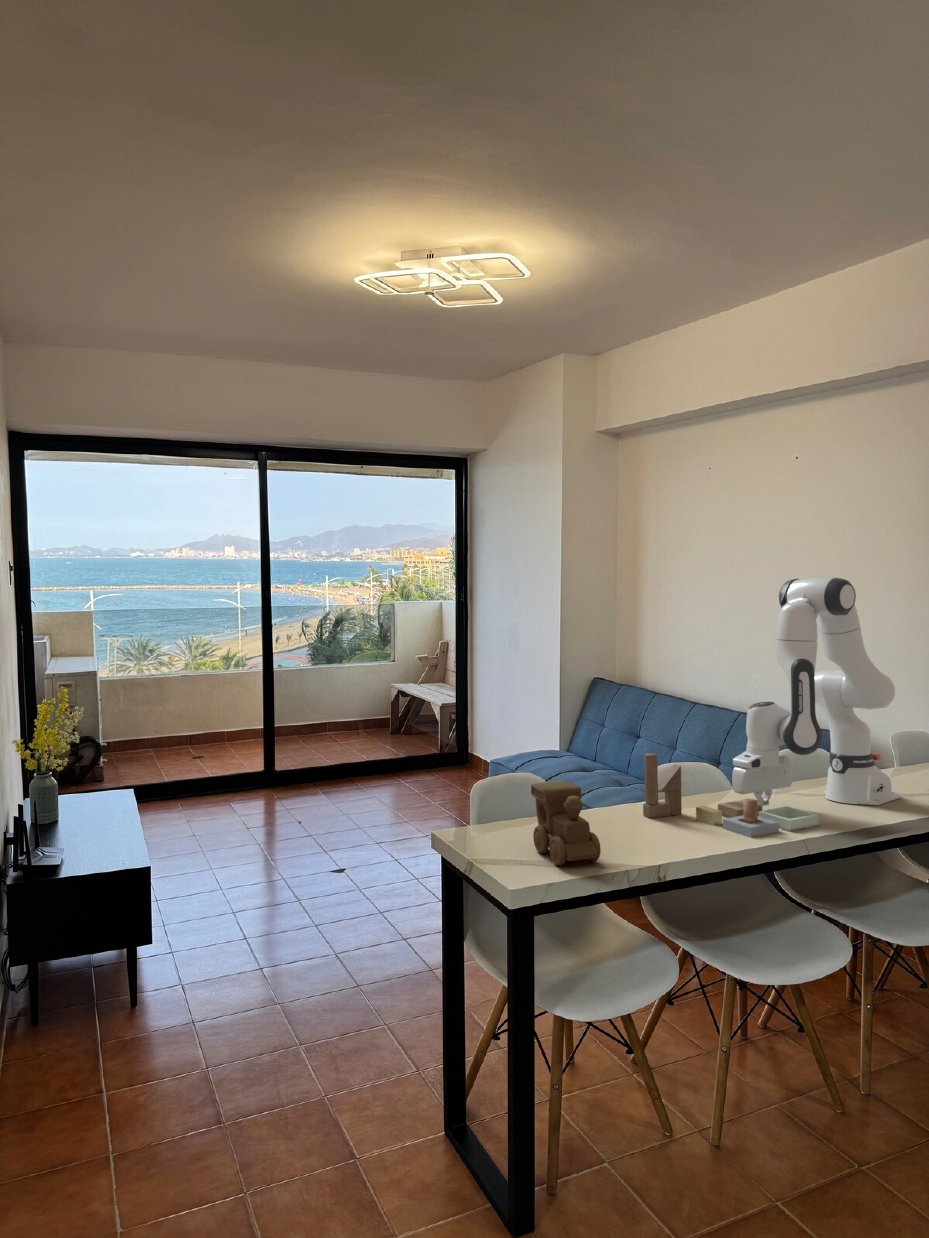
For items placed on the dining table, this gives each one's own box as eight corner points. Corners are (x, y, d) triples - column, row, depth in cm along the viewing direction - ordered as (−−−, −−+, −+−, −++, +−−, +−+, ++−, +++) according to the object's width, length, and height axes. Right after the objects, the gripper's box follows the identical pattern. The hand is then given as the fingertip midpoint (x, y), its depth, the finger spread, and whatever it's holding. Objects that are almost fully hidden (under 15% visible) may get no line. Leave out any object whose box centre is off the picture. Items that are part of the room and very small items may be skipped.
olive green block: (704, 817, 241) (704, 805, 241) (722, 823, 235) (721, 810, 235) (696, 819, 240) (696, 807, 240) (713, 825, 234) (713, 812, 234)
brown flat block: (742, 812, 248) (742, 800, 248) (762, 818, 241) (762, 806, 241) (718, 816, 245) (717, 803, 244) (737, 822, 237) (736, 810, 237)
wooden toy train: (528, 847, 217) (527, 783, 217) (569, 843, 220) (568, 779, 220) (560, 871, 198) (559, 800, 197) (605, 865, 201) (603, 796, 201)
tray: (787, 816, 241) (787, 806, 241) (819, 825, 231) (819, 814, 231) (758, 822, 236) (758, 811, 236) (789, 831, 226) (789, 820, 226)
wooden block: (682, 814, 245) (681, 752, 245) (649, 818, 242) (648, 755, 241) (675, 811, 249) (674, 750, 248) (642, 815, 245) (641, 753, 245)
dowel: (750, 827, 231) (750, 798, 231) (760, 830, 228) (760, 800, 227) (740, 829, 229) (740, 799, 229) (750, 832, 226) (750, 802, 226)
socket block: (750, 822, 235) (750, 813, 235) (778, 831, 226) (778, 822, 226) (723, 828, 231) (722, 818, 231) (750, 837, 222) (750, 827, 222)
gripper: (780, 752, 254) (780, 798, 254) (728, 759, 245) (728, 807, 245) (797, 756, 248) (797, 803, 249) (744, 763, 239) (745, 812, 239)
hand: (763, 805), depth 247 cm, fingers closed
